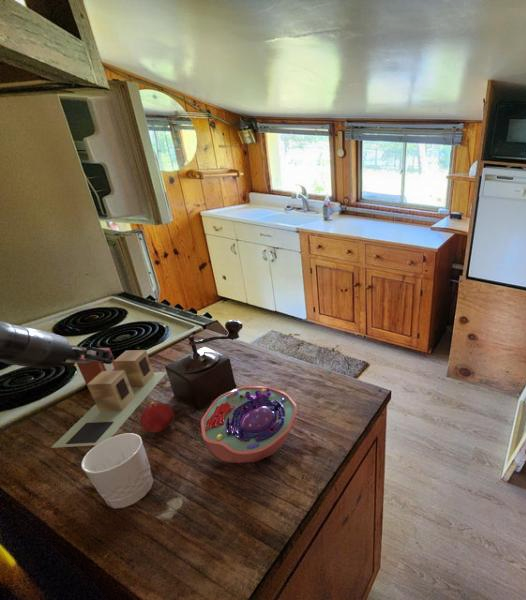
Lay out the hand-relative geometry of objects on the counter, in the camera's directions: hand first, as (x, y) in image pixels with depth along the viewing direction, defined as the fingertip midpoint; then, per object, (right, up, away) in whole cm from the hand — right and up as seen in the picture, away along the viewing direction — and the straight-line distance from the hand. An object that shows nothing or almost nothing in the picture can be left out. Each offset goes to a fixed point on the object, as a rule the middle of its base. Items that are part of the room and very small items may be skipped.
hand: (92, 360), depth 82 cm
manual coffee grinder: (+30, -7, +3) cm, 31 cm away
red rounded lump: (+25, -14, -11) cm, 31 cm away
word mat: (+11, -10, -5) cm, 15 cm away
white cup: (+29, -19, -23) cm, 42 cm away
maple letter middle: (+11, -9, -5) cm, 15 cm away
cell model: (+47, -15, -13) cm, 51 cm away
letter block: (-1, -5, +4) cm, 7 cm away
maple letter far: (+10, -6, +3) cm, 12 cm away
